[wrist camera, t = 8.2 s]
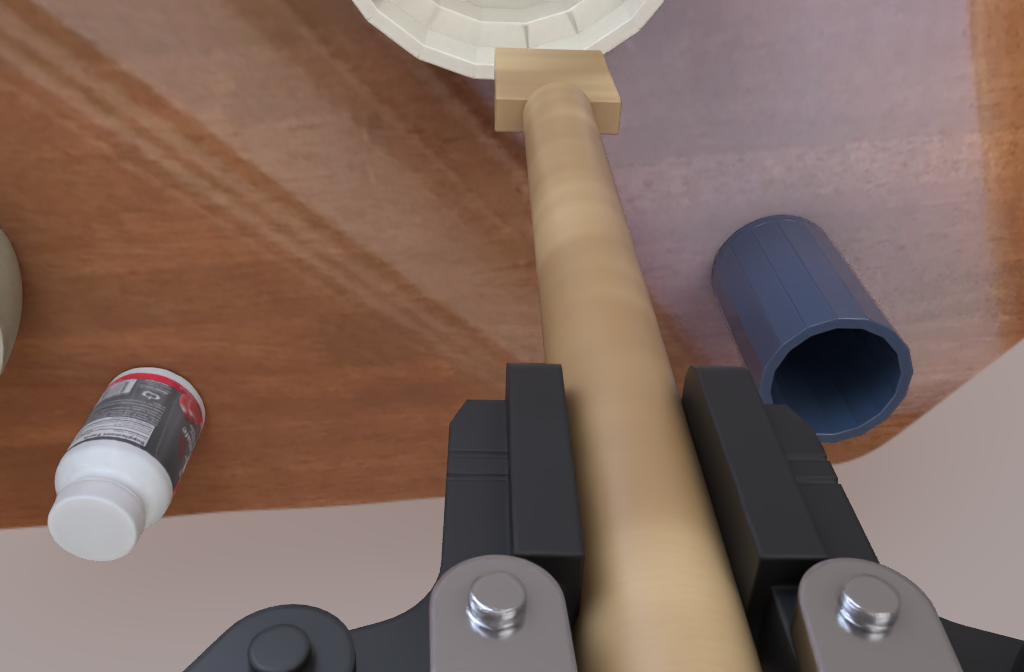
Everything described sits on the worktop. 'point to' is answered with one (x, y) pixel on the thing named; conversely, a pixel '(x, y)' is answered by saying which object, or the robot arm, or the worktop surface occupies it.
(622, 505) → the wooden stirring stick
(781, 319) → the crock
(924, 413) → the worktop surface
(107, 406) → the pill bottle
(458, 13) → the bowl
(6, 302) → the beige cup
